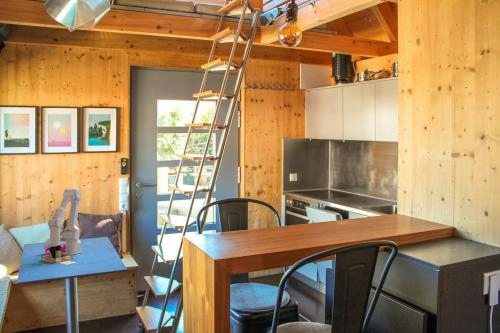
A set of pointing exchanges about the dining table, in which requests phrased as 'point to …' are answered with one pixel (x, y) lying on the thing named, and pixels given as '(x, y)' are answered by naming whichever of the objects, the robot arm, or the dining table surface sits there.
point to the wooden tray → (51, 260)
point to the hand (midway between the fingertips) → (55, 257)
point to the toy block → (60, 250)
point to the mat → (67, 262)
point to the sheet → (56, 254)
